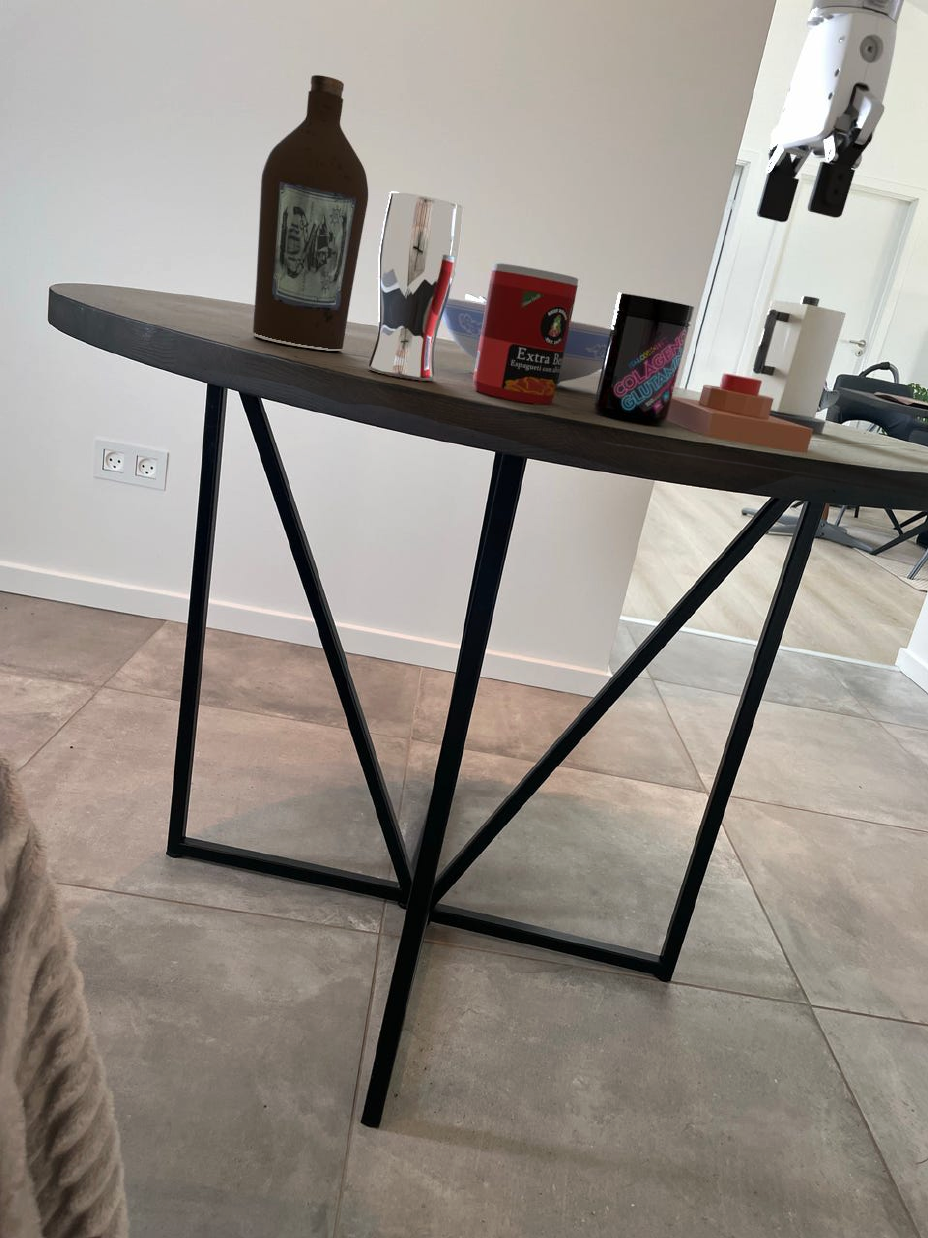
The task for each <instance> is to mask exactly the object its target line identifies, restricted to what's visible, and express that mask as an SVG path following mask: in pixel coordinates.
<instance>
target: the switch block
mask: <svg viewBox="0 0 928 1238" xmlns="http://www.w3.org/2000/svg"><path fill="white" fill-rule="evenodd" d="M773 400H774V399H773V398H771V397H767V396H763V395H759V394H758V396H754V395H748V394H743V393H738V392H733V391H728V390H724V389H720V386H719V385H718V386H717V385H710V384H703V386H702V390H701V393H700V397H699V400H696V399H691V398H685V397H680V396H679V397H678V396H674V395H672V399H671V403H670V408H669V412H668V416H667V420H666V421H667V422H669V423H672V424H674V425H677V426H679V427H682V428H684V429H687V430H688V431H689V430H690V431H692V432H694V433H696V434H699V435H701V436H705V437H707V438H713V439H719V440H724V441H730V442H737V443H743V444H744V443H745V444H748V445H755V444H756V445H755V446H761V445H762V447H767V446H768V447H767V448H774V449H780V450H786V451H791V452H792V451H793V452H798V451H799V453H804V452H805V454H807V452H808V449H809V446H810V443H811V439H812V436H813V434H812V433H813V429H811V428H808V427H804V426H801V425H798V424H795V423H792V422H788V421H785V420H782V419H779V418H775V417H772V416H769V414H770V410H771V407H772V403H773Z"/></svg>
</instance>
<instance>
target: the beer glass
mask: <svg viewBox="0 0 928 1238" xmlns="http://www.w3.org/2000/svg"><path fill="white" fill-rule="evenodd" d="M389 193H390V194H389V199H388V204H387V208H386V214H385V217H384V218H385V219H384V221H383V227H382V234H381V239H380V246H379V253H378V314H379V315H378V329H377V335H376V340H375V344H374V347H373V350H372V354H371V357H370V359H369V363H368V368H369V369H371V370H374V371H376V372H380V373H383V374H386V375H391V376H396V377H401V378H407V379H413V380H412V381H414V380H419V381H418V382H423V381H429V382H430V381H432V382H434V380H435V347H436V340H437V336H438V332H439V327H440V326H441V325H440V324H441V322H442V319H443V317H442V315H443V312H444V309H445V307H446V304H447V301H448V298H450V294H451V291H452V288H453V284H454V281H455V277H456V273H457V269H458V264H459V259H460V252H461V245H462V244H461V243H462V234H463V222H464V211H465V207H464V206H463V205H461V204H458V203H455V202H452V201H449V200H444V199H440V198H436V197H431V196H426V195H420V194H414V193H409V192H408V193H407V192H400V191H399V192H398V191H391V192H389ZM369 369H368V370H369ZM386 375H385V376H386ZM391 376H390V377H391ZM396 377H395V378H396ZM401 378H400V379H401ZM407 379H406V380H407ZM429 382H428V383H429Z"/></svg>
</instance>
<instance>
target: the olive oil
mask: <svg viewBox="0 0 928 1238" xmlns="http://www.w3.org/2000/svg"><path fill="white" fill-rule="evenodd" d="M344 87H345V84H344V83H343V81H342V80H339V79H337V78H334V77H330V76H325V75H319V74H315V75H312V76H311V77H310V90H309V91H307V92H308V93H307V102H306V115H305V117H304V119H303V121H301V123H300V124H298V126H297V127H295V128H294V129H293V130H292V131H291V132H289V133H288V134H287V135H286V136H285V137H284V138H283V139H281V140H280V141H279V142H278V143H277V144H276V145H275V146H274V147H273V148H272V149H271V150H270V152H269V154H268V156H267V158H266V160H265V163H264V166H263V169H262V172H261V179H260V195H259V196H260V199H259V220H258V221H259V224H258V242H257V243H258V244H257V261H256V262H257V263H256V279H255V281H256V282H255V293H254V294H255V295H254V309H253V310H254V311H253V323H252V333H253V332H254V333H256V334H258V335H262V336H265V337H268V338H272V339H276V340H281V341H286V342H291V343H295V344H301V345H307V346H314V347H322V348H328V349H342V350H343V348H344V342H345V335H346V329H347V324H348V316H349V311H350V305H351V304H350V303H351V298H352V291H353V284H354V280H355V274H356V269H357V264H358V258H359V253H360V247H361V241H362V236H363V230H364V225H365V219H366V213H367V209H368V202H369V185H368V177H367V173H366V169H365V167H364V165H363V164H362V163H363V162H361V160H360V158H359V156H358V155H357V153H356V151H355V150H354V148H353V147H352V145H351V143H350V141H349V140H348V138H347V136H346V135H345V132H344V130H343V129H342V126H341V118H342V112H343V104H344V98H343V92H344Z"/></svg>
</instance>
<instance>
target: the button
mask: <svg viewBox="0 0 928 1238" xmlns="http://www.w3.org/2000/svg"><path fill="white" fill-rule="evenodd" d="M761 383H762V381H761V380H757V379H752V378H750V377H747V376H741V375H736V374H731V373H726V372H725V373H722V377H721V381H720V383H719V387H720V389H724V390H728V391H733V392H738V393H743V394H748V395H754V396H758V394H759V390H760V387H761Z"/></svg>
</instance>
